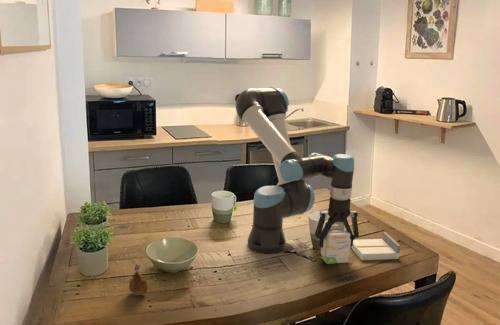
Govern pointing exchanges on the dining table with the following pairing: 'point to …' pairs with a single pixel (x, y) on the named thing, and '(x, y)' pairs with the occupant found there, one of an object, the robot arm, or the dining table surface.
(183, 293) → the dining table surface
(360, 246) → the dock
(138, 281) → the brown pointed lump
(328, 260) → the ink box
